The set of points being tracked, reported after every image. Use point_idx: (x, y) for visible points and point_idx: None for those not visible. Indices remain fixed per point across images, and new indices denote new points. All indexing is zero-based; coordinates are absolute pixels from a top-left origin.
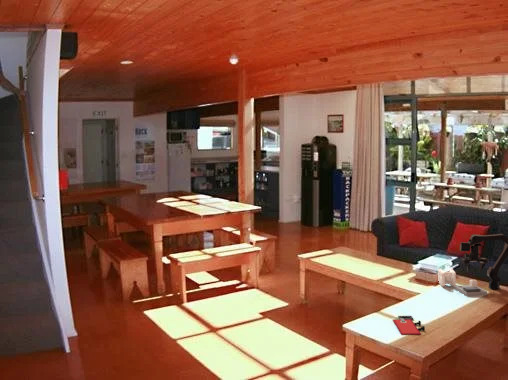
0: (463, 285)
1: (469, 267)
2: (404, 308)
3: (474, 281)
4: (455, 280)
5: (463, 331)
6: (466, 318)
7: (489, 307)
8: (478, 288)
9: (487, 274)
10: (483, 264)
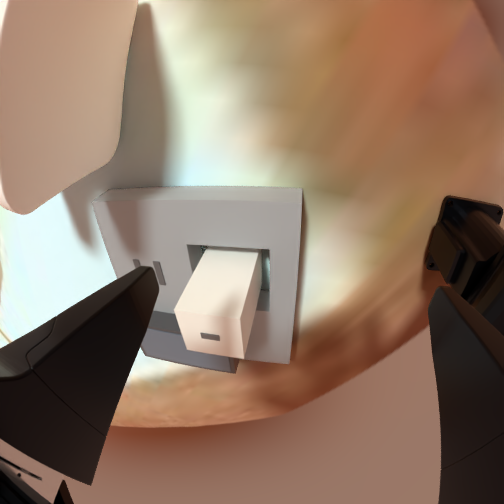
0: (165, 200)
1: (112, 412)
2: (16, 333)
3: (213, 352)
4: (75, 181)
5: (123, 426)
6: (131, 415)
7: (210, 414)
8: (226, 365)
9: (500, 287)
10: (449, 502)
